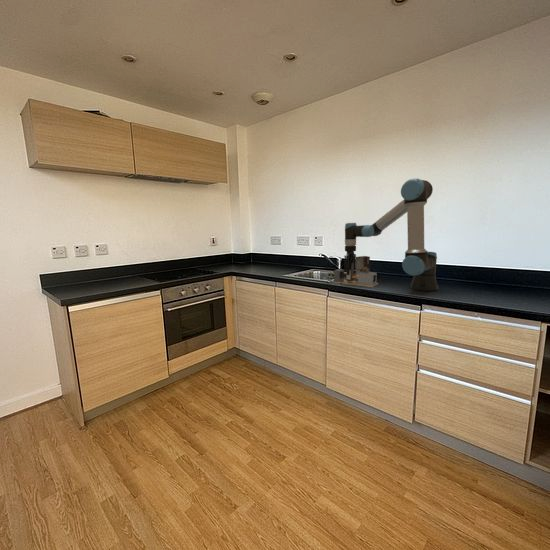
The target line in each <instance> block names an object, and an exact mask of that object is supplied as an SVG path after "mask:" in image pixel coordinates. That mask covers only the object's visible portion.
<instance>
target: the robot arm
mask: <svg viewBox="0 0 550 550" xmlns="http://www.w3.org/2000/svg"><path fill="white" fill-rule="evenodd" d="M433 190H434V189H433V185H432V184H431V182H429V180H425V179H421V178H411V179H407V180H406V181H405V182H404V183H403V185H402V186H401V188H400V195H401V197H402V199H403V200H401V201H400V202H398V204H396V205H395V206H394V207H392V208H391V209H390V210H389V211H387V212H386V213H385V214H384V215H382V216H381V217H380V218H378V219H377V220H376V221H375V222H374V223H372V224H365V225H364V224H362V225H357V222H346V223H345V225H344V251H345V252H346V255H344V271H346V274H347V278H346V280H347V279H349V280H350V279H351V270H350V266H351V263H354V270H356V257H357V254H356V253H355V252H356V251H357V246H356V245H357V238H359V237H360V238H370V237H378V236H379V235H381V234H382V233H383V231H384V230H385V229H387V228H388V227H389V226H390V225H392V224H394V223H395V222H396V221H398V220H399V219H400V218H401V217H403V216H404V215H405V214H406V213H407V214H406V215H407V216H406V217H407V218H406V220H407V221H406V222H407V249H406V250H405V252H404V258H403V260H402V262H401V267H402V269H403V271H404V272H405V273H406V274H408V275H409V276H413V278H412V281H411V283H410V289H412V290H415V291H423V292H424V291H425V292H434V291H435V292H436V291H438V290H439V285H438V280H437V278H436V277H437V276H436V274H437V260H438V256H437V252H434V251H428V250H427V249H426V248H425V205H426V204H427V203H428V199H429V198H430V197H431V196H432V194H433Z"/></svg>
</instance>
